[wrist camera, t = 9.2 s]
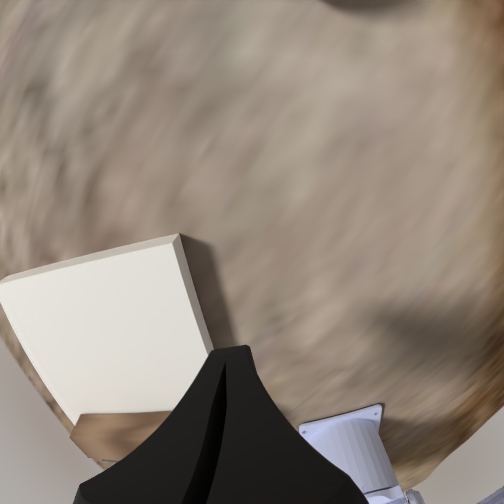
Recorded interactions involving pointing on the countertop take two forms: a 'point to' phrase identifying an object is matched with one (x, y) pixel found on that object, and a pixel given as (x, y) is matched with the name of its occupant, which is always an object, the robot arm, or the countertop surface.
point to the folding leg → (114, 433)
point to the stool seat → (112, 328)
